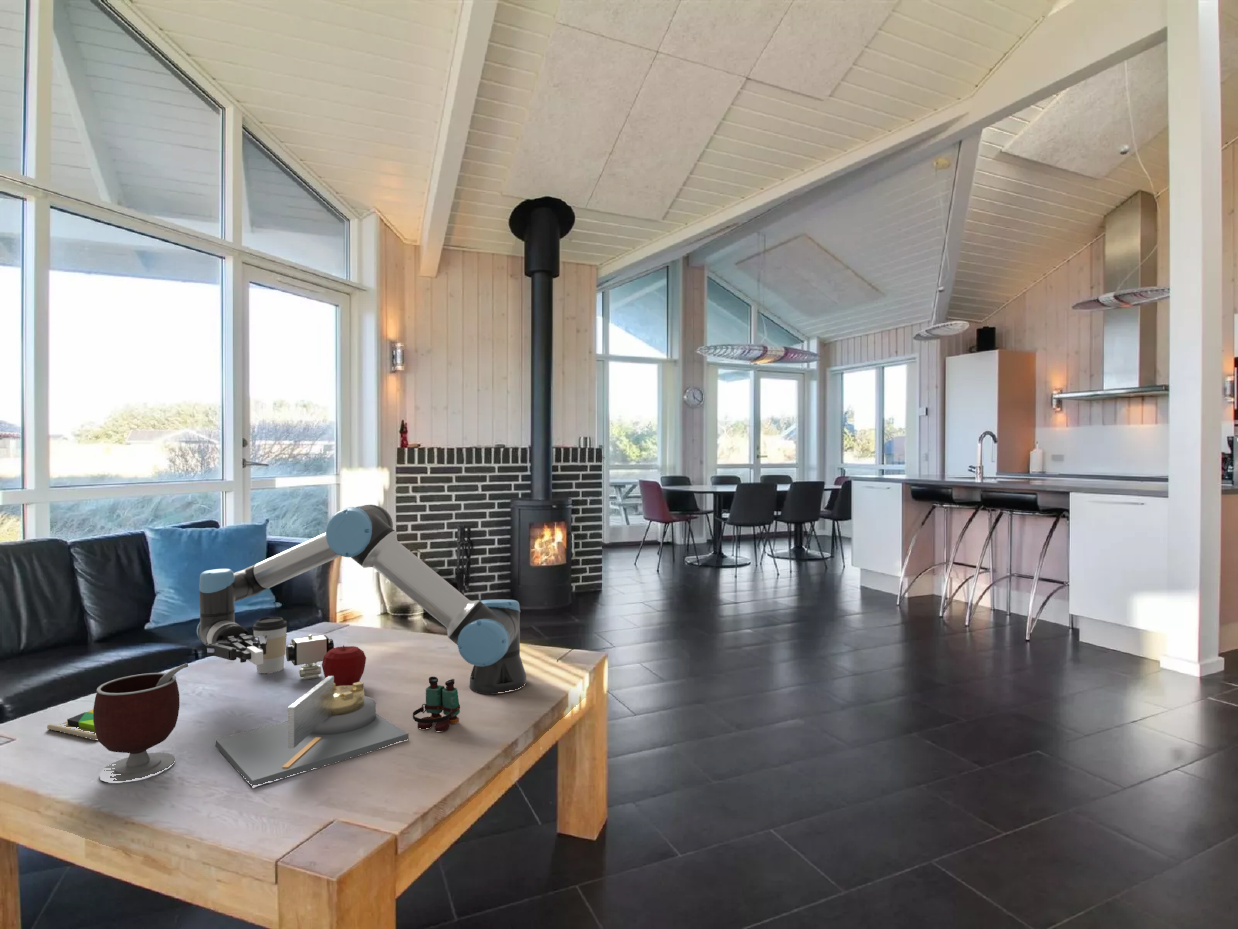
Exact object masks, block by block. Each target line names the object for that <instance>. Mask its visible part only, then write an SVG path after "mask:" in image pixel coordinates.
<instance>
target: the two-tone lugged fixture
mask: <svg viewBox="0 0 1238 929" xmlns="http://www.w3.org/2000/svg"><path fill="white" fill-rule="evenodd" d="M364 686H365V684H364V682H362V681H359V682H357V683H353V686H351V685H346V686H336V684H335V683H334V676H328V677H326V678H325V677H324V678H323V679H322V680H321V681H320V682H319V683H318V684H316V685H314V686H313V687H312V688H311V689H310V690H308V691H307V692H306V693H304V694H303V695H302V696H300V697H299V698H298V699H296V701H294V702H293V703H291V704H290V705H289V706H288V707H287V721H288V748H295V747H296V746H297V745H298V744H299V743H300V742H302V741H303V740H304V739H305V738H306V737H307V736H308V735H309V734H310V733H311V732H312V731H314V730H315V729H316V728H317V727H318V726H319V725H320V724H321V723H322V722H323V721H325V720H326V719H327V718H328V717H329V716H333V715H342V714H347V713H350V712H353V711H356V710H358V709H360V708H362V707H363V706H364V696H365V689H364Z"/></svg>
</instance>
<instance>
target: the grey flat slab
mask: <svg viewBox="0 0 1238 929" xmlns="http://www.w3.org/2000/svg"><path fill="white" fill-rule="evenodd" d="M376 708H377V703H376V700H375V699H374V698H372V697H369V696H365V695H364V706H363V707H362V708H360V709H358V710H356V711H353V712H350V713H347V714H342V715H333V716H329V717H328V718H327V719H326V720H325V721H323V722H322V723H321V724H320V725H319V726H318V727H317V728H316V729H315V730H314V731H312V732H311V733H310V734H309V735H308V736H307V737H306V738H305V739H304V740H303V741H302V742H300V743H299V744H298V745H297V746H296V747H295V748H288V720H285V721H282V722H278V723H273V724H270V725H266V726H262V727H258V728H254V729H250V730H246V731H242V732H238V733H234V734H231V735H227V736H222V737H219V738H216V739H215V742H214V743H215V746H214V747H215V748H218V749H219V750H218V749H217V750H218V751H219V752H220V751H221V752H220V753H221V754H222V755H223V754H224V755H223V757H224V756H225V757H226V758H227V759H228V760H227V759H226V758H225V757H224V758H225V759H226V760H227V762H229V761H230V762H231V763H230V762H229V763H230V765H231V764H232V765H233V766H234V767H235V768H236V769H237V770H238V771H239V772H240V774H242V775H243V776H244V778H246V780H247V781H249V783H250V784H252V786H253V785H258V784H263V783H265V782H268V781H274V780H276V779H280V778H285V777H287V776H290V775H293V774H297V773H300V772H303V771H308V770H311V769H313V768H318V769H320V768H319V767H321V768H323V767H322V766H324V765H327V766H329V765H328V764H331V765H333V763H334V764H336V763H335V762H337V763H339V762H338V761H340V762H343V760H344V761H346V760H345V759H347V760H349V759H348V758H350V757H353V758H356V757H359V756H358V755H360V754H363V755H366V754H368V753H367V752H369V753H371V752H370V751H373V752H375V751H374V750H376V751H378V750H377V749H379V748H382V747H385V746H388V745H390V744H394V743H396V742H399V741H404V740H407V739H408V740H409V733H408V732H407V731H405V730H404V729H402V728H400V727H398V726H397V725H396V724H394V723H392V722H391V721H389V720H388V719H386V718H385V717H383V716H380V714H378V713H377V709H376ZM382 749H383V748H382ZM379 750H380V749H379ZM365 753H366V754H365ZM360 756H361V755H360ZM350 759H351V758H350ZM232 765H231V766H232ZM233 766H232V767H233ZM234 767H233V768H234ZM324 767H325V766H324ZM235 768H234V769H235ZM236 769H235V770H236ZM237 770H236V771H237ZM238 771H237V772H238ZM311 771H312V770H311ZM308 772H309V771H308ZM240 774H239V775H240ZM244 778H243V779H244ZM285 779H286V778H285Z"/></svg>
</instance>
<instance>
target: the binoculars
mask: <svg viewBox="0 0 1238 929" xmlns="http://www.w3.org/2000/svg"><path fill="white" fill-rule="evenodd" d="M438 682H439V678H438V677H437V676H430V677H428V683H429V685H428V686H427V687H426V688H425V703H422V705H421V707H419V708H418V709H415V710H414V711H413V712H412V719H413V720H414V722H416V723H417V728H418V729H419V728H421V729H426V728H430V727H431V728H432V727H433V724H434V730H436V731H443V732H445V731H447V730H449V729H450V727H451V725H455V724H459V720H460V719H459V716H458V715H459V714H460V713H461V711H460V710H461V704H460V700H459V692H458V689H457V687H455V686H454V685H455V679H454V678H451V679H448V680H447V681H445V682H444V683H445V684H444V685H445V686H444V685H439V684H438ZM420 713H422V714H425V713H426V714H430V716H424V717H417V716H416V715H418V714H420ZM441 713H443V715H444V716H443V715H442V714H441ZM431 728H430V729H431ZM436 731H435V732H436Z"/></svg>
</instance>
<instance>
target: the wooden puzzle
mask: <svg viewBox="0 0 1238 929" xmlns="http://www.w3.org/2000/svg"><path fill="white" fill-rule="evenodd" d="M59 724H60V725H61V724H66V725H64V726H66V727H76V728H77V727H79V728H78V729H81V730H83V731H81V730H75V729H71V728H66V727H62V726H57V725H58V724H50V723H49V724H47V727H46V728H47V730H48V729H51V730H50V731H52V730H55V731H54V732H56V731H61V732H65V733H68V734H67V735H70V734H74V735H78V736H81V737H80V738H83V737H87V738H91V739H97V736H96V735H95V733H96V732H95V727H94V722H93V709H91V710H88V711H87V712H86V711H85V712H82V713H79V714H77V715H74V716H73V717H70V718H67V719H66V721H63V723H59ZM84 731H90V732H94V733H89V732H84ZM61 732H60V733H61ZM65 733H64V734H65ZM74 735H73V736H74ZM78 736H77V737H78ZM87 738H86V739H87ZM91 739H90V740H91Z"/></svg>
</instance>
